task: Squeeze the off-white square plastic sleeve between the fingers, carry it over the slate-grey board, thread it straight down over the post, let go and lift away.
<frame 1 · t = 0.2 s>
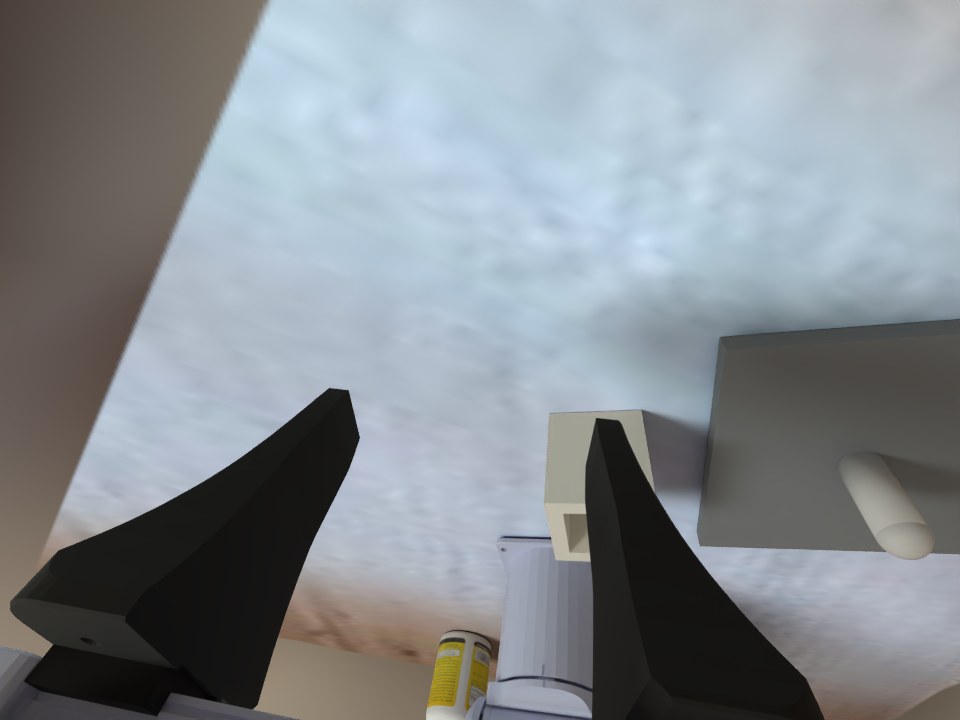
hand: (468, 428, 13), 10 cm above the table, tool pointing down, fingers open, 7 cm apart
sleeve: (596, 442, 27), on the table
supplement bottle: (467, 638, 48), on the table
post board: (850, 449, 24), on the table
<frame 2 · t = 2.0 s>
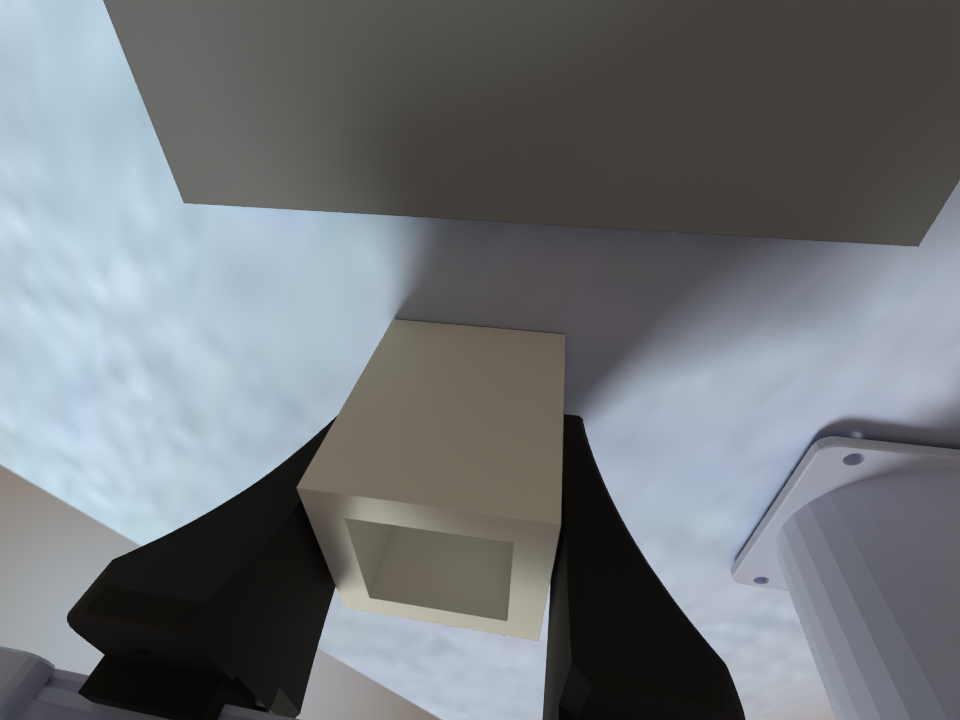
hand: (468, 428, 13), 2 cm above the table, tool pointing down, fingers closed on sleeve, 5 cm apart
sleeve: (477, 391, 15), on the table, touching gripper
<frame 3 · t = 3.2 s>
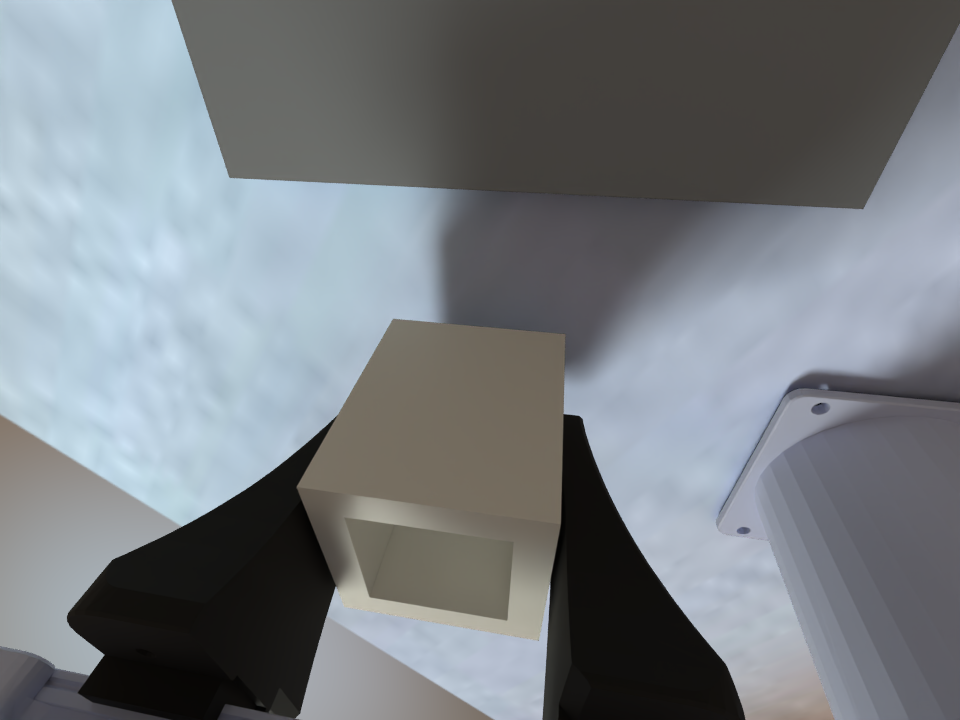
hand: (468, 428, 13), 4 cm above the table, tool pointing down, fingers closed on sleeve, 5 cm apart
sleeve: (477, 391, 15), point 2 cm above the table, touching gripper
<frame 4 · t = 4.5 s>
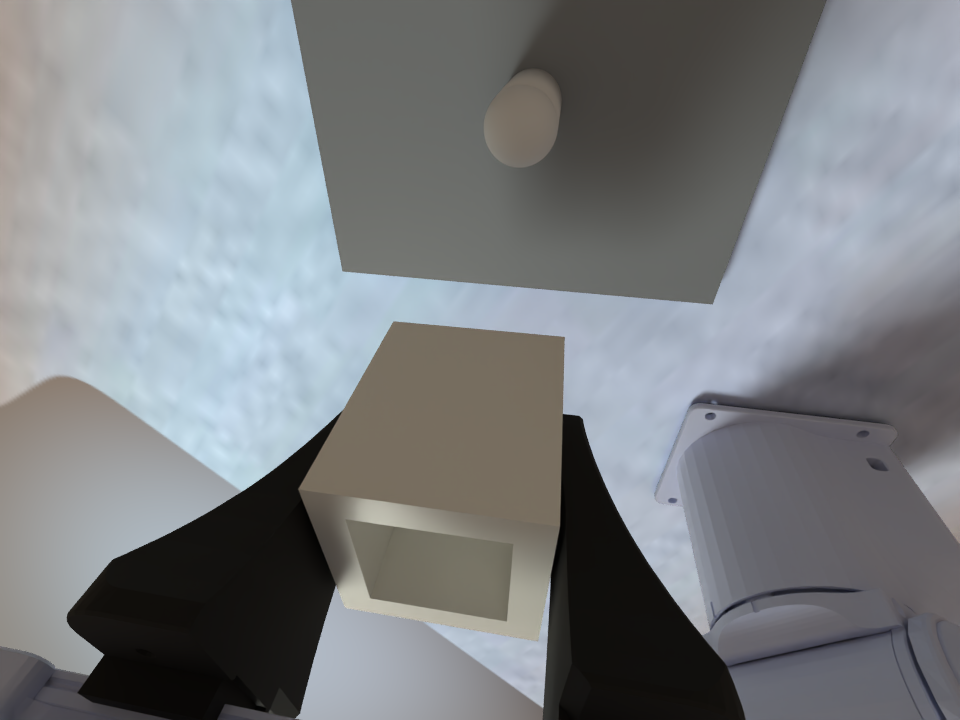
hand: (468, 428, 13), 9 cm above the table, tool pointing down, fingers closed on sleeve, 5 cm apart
sleeve: (477, 393, 15), point 8 cm above the table, touching gripper
post board: (533, 98, 16), on the table
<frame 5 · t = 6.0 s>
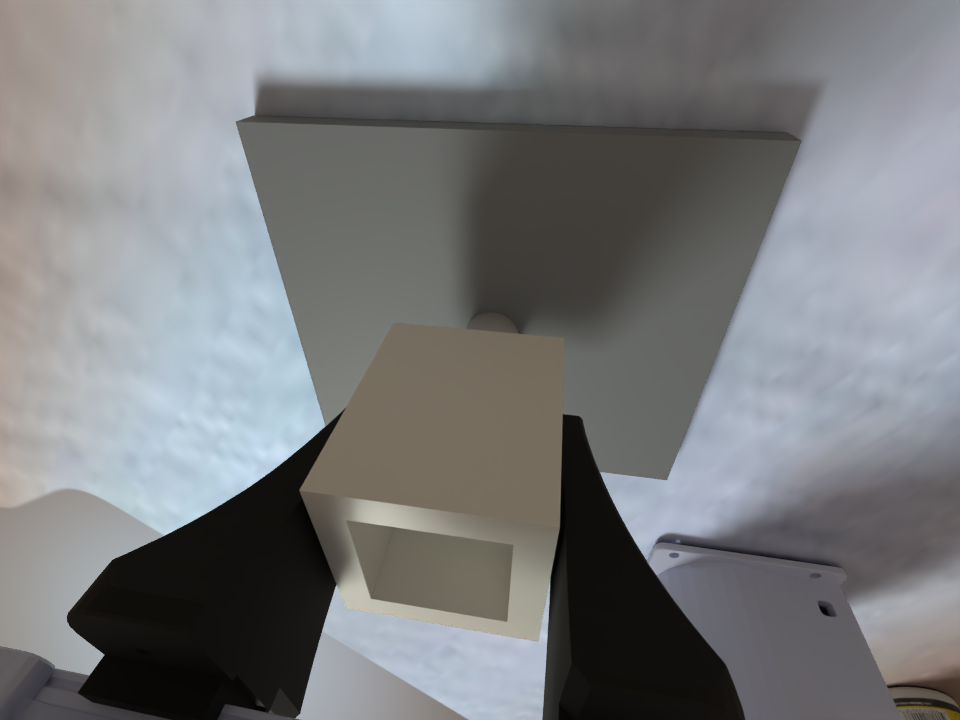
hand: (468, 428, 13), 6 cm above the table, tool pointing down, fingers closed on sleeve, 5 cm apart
sleeve: (477, 394, 15), point 4 cm above the table, touching gripper
supplement bottle: (903, 696, 32), on the table
post board: (495, 320, 18), on the table
when the fingers open (4 cm above the table, at t = 7.0 s): sleeve drops 1 cm, resting on post board.
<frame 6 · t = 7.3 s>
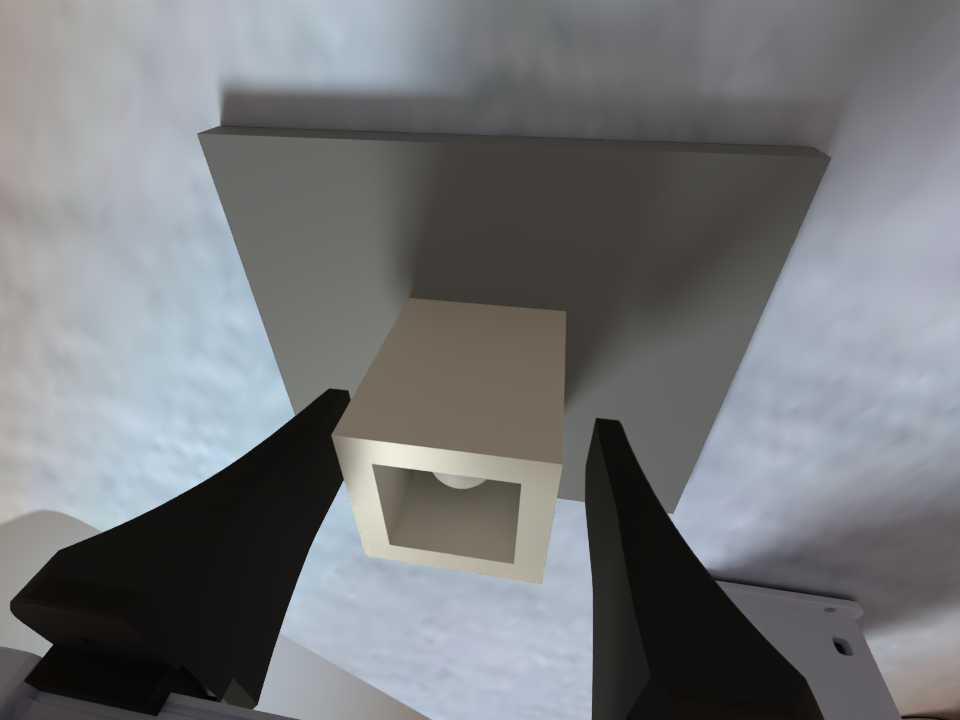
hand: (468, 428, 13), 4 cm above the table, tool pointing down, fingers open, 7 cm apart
sleeve: (485, 366, 16), point 1 cm above the table, touching post board
post board: (488, 346, 17), on the table
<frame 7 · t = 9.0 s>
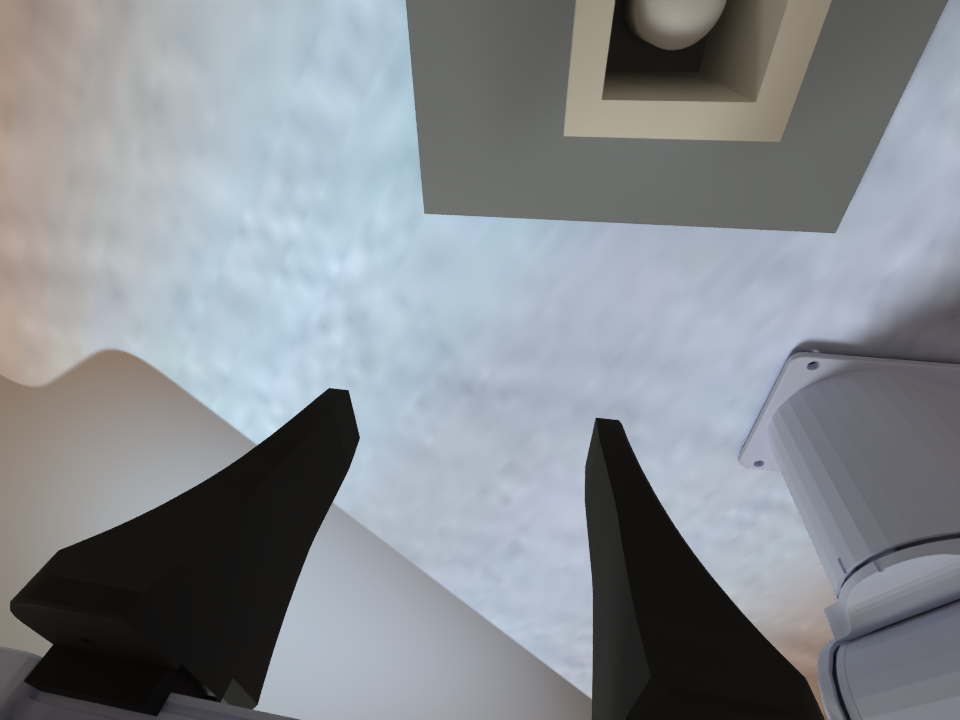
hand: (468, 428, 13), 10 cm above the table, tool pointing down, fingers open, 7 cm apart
sleeve: (656, 7, 14), point 1 cm above the table, touching post board
post board: (653, 1, 15), on the table
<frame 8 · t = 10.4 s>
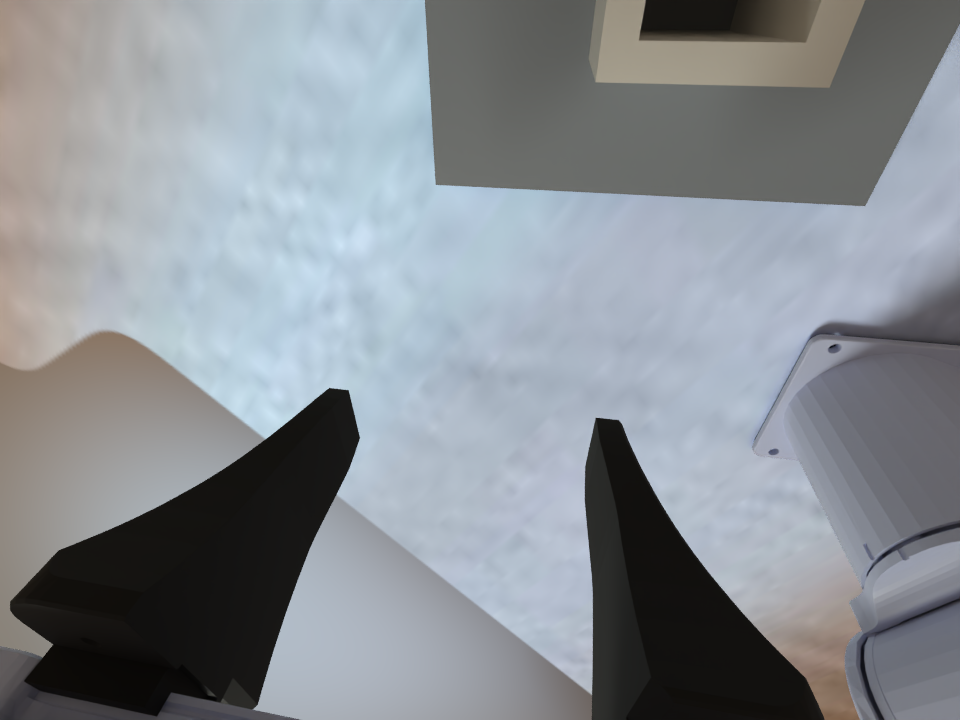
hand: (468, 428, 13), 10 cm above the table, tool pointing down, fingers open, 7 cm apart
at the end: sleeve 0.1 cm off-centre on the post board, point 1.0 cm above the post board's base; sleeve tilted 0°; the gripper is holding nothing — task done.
